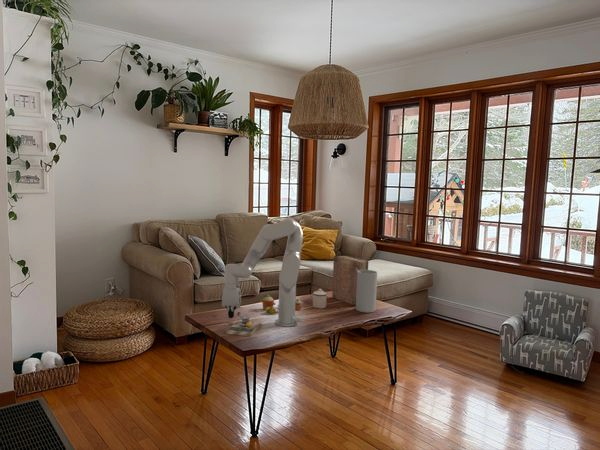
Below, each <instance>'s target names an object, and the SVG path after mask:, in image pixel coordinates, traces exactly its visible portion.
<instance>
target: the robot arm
mask: <svg viewBox="0 0 600 450" xmlns="http://www.w3.org/2000/svg"><path fill="white" fill-rule="evenodd" d="M285 237H287V242H286V247H285V251H284V255H283V257H282V264H281V268H280V269H281V270H280V273H279V277H278V280H279V281H278V283H279V284H278V287H279V288H278V305H279V309H278V311H277V312H278V313H277V314H278V318H277V319H276V320H275V324H276V325H277V326H280V327H295V326H297V325H298V323H303V318H302V317H297V314H296V311H295V303H296V300H297V298H296V297H297V281H298V276H299V272H300V267H301V261H302V260H301V253H302V246H303V241H304V234H303V229H302V227H301V225H300V223H298V222H297V221H296V220H295V219H293V218H291V217H287V218H284V219H283V220H281V221H279V222H276V223H272V224H271V223H267V224H264V225H263V226H262V228H261V229H260V230H259V233H258V234H257V235H256V238H255V239H254V241H253V243H252V244H251V245H250V249H249V251H248V253H247V255H246V256H245V258H244V259H243V261H242V263H241V264H240V265H239V264H237V263H227V264H225V266H224V287H223V290H222V294H221V295H222V297H221V307H223V308H225V309H226V310H227V317H228V319H233V318H234V317H235V310H237V309H240V308H241V304H242V295H241V288H240V287H241V286H242V285H241V284H239V279H248V278H250V277H251V275H252V274H253V271H254V269H255V267H256V266H257V264H258V263H259V261H260V259H261V258H262V257H263V256H264V255H265V253H266V252H267V250H268V248H269V247H270V245H271V243H272V242H273V241H274V240H278V239H281V238H285Z"/></svg>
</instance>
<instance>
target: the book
mask: <svg viewBox="0 0 600 450" xmlns="http://www.w3.org/2000/svg"><path fill="white" fill-rule="evenodd" d="M332 265H333V268H332V271H333V272H332V299H335V300H338V301H340V302H343V303H345V304H349V305H351V306H353V307H356V293H357V271H358V270H369V260H368V259H363V258H359V257H354V256H350V255H345V254H342V255H340V254H339V255H333V264H332Z"/></svg>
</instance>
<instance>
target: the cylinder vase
mask: <svg viewBox="0 0 600 450" xmlns="http://www.w3.org/2000/svg"><path fill="white" fill-rule="evenodd" d="M377 285H378V272H377V271H376V270H373V269H372V270H370V269H368V270H358V271H357V293H356V306H355V310H356V311H357V312H358V313H359V312H360V313H366V314H368V313H374V312H375V311H376V308H377V307H376V305H377V304H376V303H377V289H378V288H377V287H378V286H377Z"/></svg>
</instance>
